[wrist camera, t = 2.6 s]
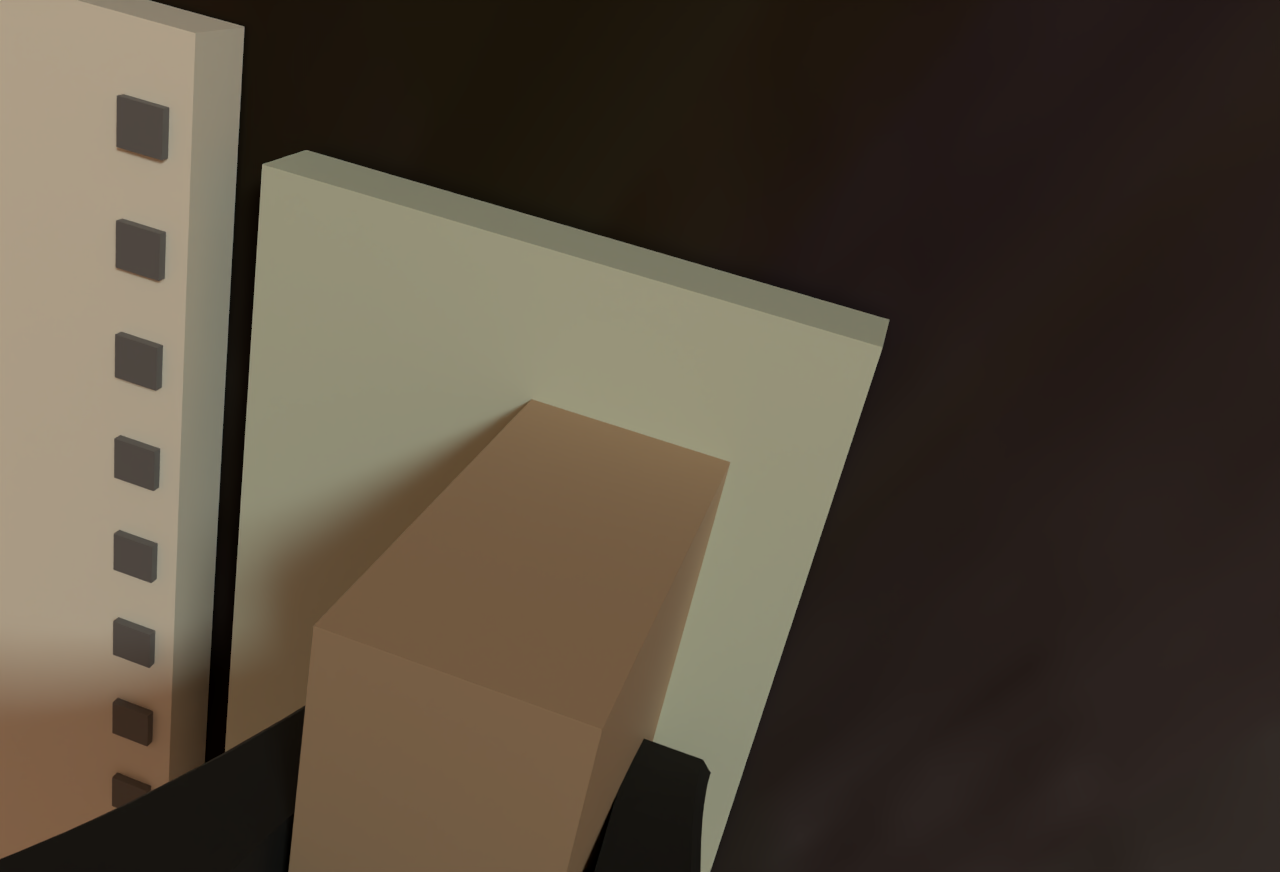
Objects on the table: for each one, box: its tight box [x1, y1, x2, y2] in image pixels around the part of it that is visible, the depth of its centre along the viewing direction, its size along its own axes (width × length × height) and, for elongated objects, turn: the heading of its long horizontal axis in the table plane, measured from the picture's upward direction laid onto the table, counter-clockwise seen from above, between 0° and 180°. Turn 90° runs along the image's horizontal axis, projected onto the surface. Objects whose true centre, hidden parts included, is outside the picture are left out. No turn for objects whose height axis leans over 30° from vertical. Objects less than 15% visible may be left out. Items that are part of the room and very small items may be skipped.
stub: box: [225, 150, 889, 872], centre depth 11 cm, size 10×6×5 cm, turn 168°
